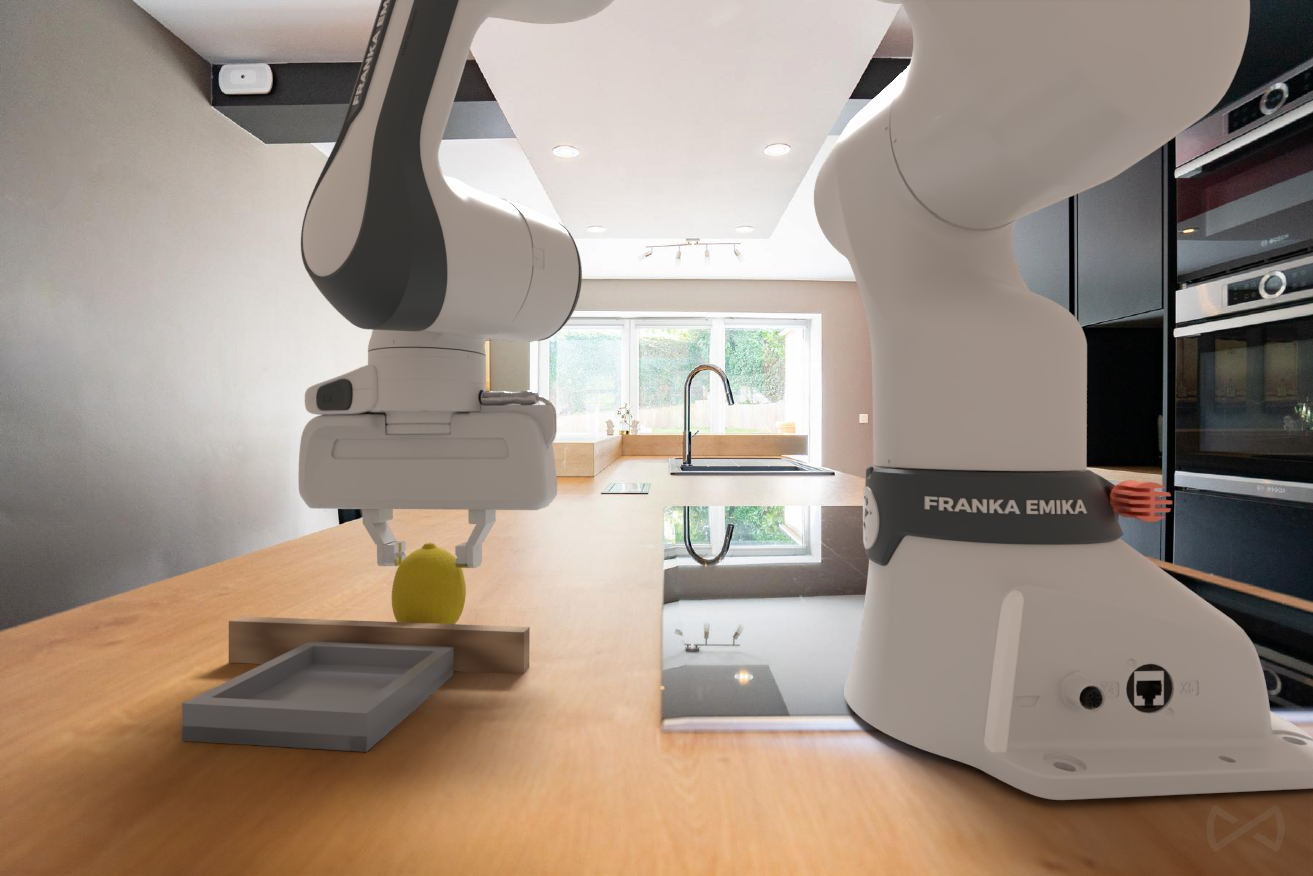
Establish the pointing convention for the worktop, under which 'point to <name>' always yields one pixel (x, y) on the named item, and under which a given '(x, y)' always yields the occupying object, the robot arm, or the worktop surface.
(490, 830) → the worktop surface
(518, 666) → the rail
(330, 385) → the robot arm
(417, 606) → the lemon
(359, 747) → the dish
